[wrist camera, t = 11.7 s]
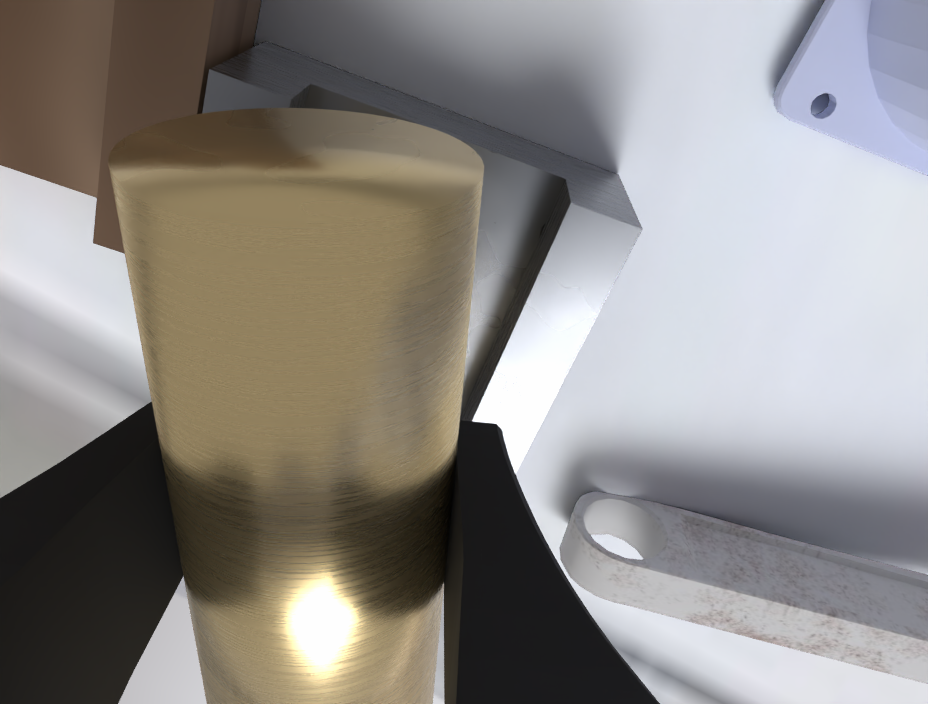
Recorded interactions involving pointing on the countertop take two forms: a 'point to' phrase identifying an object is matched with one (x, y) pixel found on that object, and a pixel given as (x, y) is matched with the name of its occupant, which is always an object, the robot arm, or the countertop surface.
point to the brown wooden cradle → (105, 81)
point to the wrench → (751, 583)
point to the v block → (486, 234)
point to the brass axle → (305, 386)
